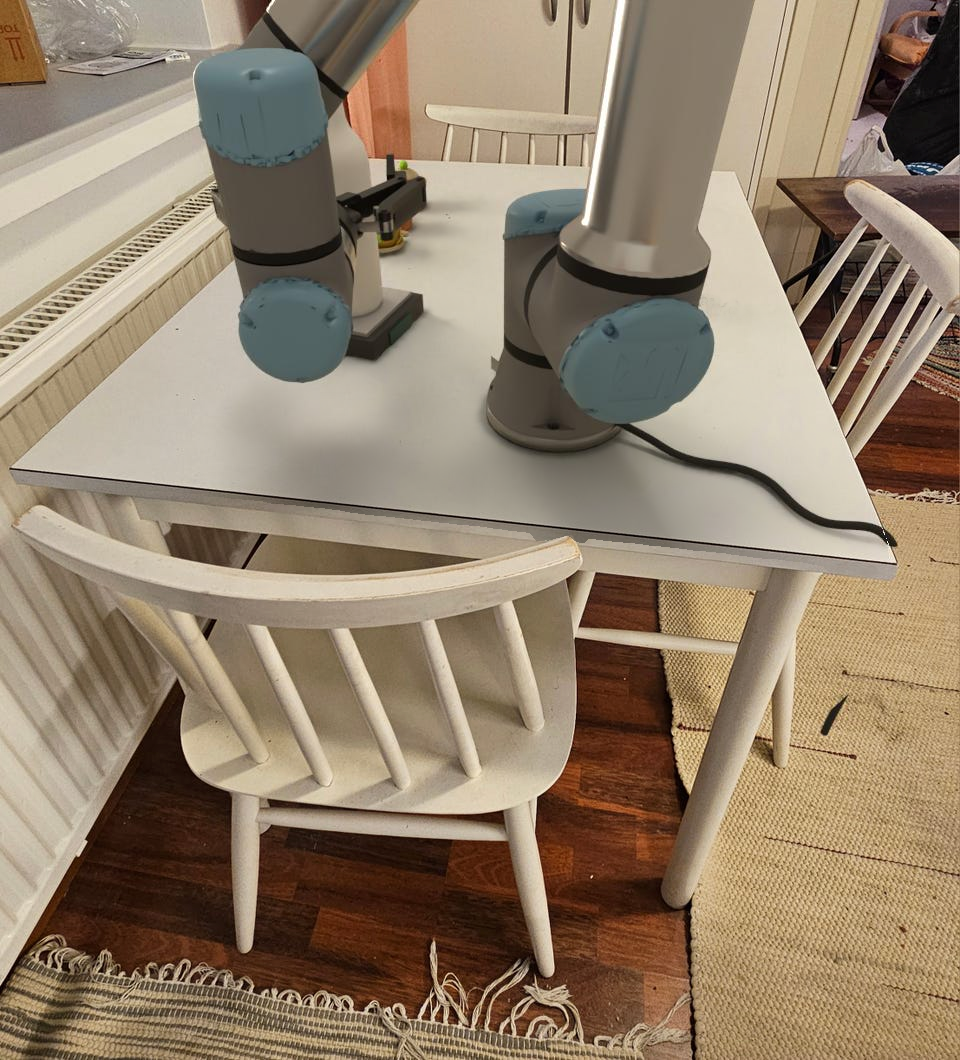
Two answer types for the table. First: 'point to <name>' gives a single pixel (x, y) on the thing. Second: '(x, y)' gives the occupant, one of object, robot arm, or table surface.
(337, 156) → the white bottle
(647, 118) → the robot arm
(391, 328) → the scale
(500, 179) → the table surface
